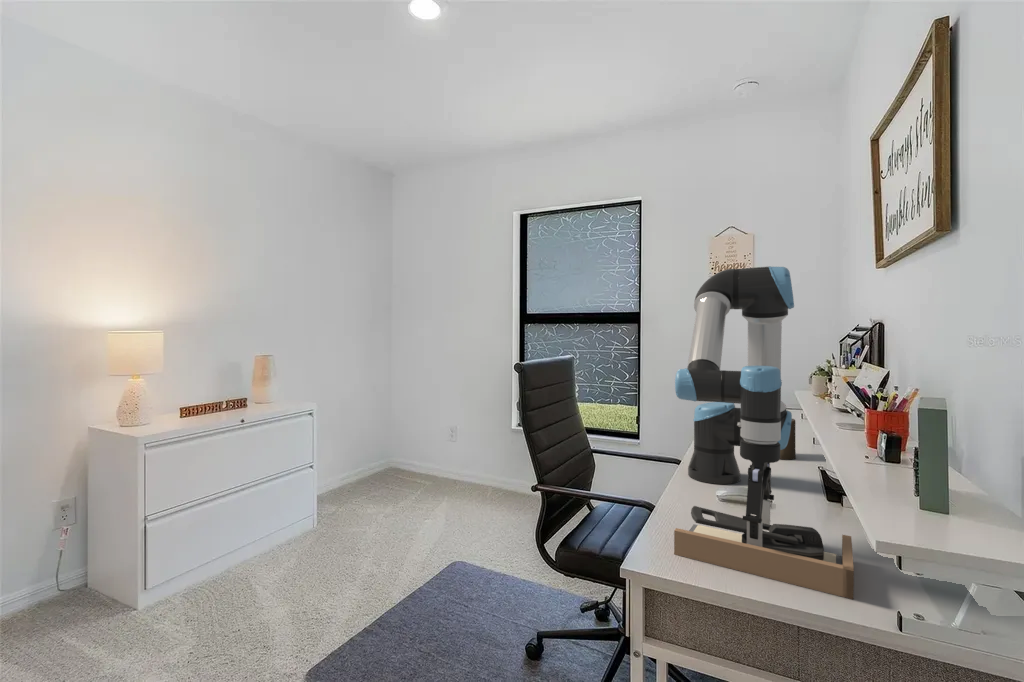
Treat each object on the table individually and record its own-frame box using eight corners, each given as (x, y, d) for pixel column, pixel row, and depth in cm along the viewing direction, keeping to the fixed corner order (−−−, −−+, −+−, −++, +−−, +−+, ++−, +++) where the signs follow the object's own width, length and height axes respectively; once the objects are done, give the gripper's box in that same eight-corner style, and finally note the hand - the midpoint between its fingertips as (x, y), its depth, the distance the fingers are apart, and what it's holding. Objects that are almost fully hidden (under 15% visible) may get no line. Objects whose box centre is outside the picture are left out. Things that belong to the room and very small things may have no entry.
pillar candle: (801, 459, 170) (801, 417, 170) (774, 460, 170) (774, 417, 170) (785, 453, 180) (785, 412, 180) (759, 453, 180) (759, 412, 180)
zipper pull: (689, 503, 109) (815, 515, 102) (689, 532, 110) (815, 546, 102) (692, 518, 101) (830, 532, 94) (692, 550, 101) (829, 566, 94)
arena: (693, 526, 115) (693, 505, 114) (850, 560, 98) (851, 536, 97) (674, 554, 101) (674, 530, 101) (853, 599, 84) (853, 571, 84)
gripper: (749, 427, 114) (748, 516, 114) (729, 450, 93) (728, 559, 94) (785, 431, 109) (784, 523, 110) (773, 456, 89) (772, 570, 89)
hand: (758, 540), depth 102 cm, fingers open, 13 cm apart
